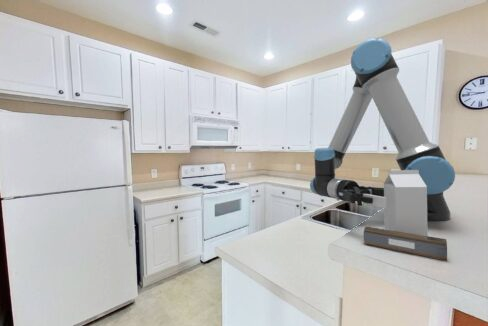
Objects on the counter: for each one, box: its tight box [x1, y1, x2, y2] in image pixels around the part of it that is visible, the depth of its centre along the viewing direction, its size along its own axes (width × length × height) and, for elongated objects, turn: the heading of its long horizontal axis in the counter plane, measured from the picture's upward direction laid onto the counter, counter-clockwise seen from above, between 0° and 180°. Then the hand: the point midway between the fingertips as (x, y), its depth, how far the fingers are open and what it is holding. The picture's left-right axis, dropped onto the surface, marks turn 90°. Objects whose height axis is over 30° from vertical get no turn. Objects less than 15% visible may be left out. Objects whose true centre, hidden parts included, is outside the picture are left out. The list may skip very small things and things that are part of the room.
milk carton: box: [383, 169, 429, 236], centre depth 59 cm, size 7×7×19 cm
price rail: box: [363, 226, 448, 262], centre depth 53 cm, size 3×16×4 cm, turn 50°
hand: (404, 200), depth 58 cm, fingers open, 13 cm apart
